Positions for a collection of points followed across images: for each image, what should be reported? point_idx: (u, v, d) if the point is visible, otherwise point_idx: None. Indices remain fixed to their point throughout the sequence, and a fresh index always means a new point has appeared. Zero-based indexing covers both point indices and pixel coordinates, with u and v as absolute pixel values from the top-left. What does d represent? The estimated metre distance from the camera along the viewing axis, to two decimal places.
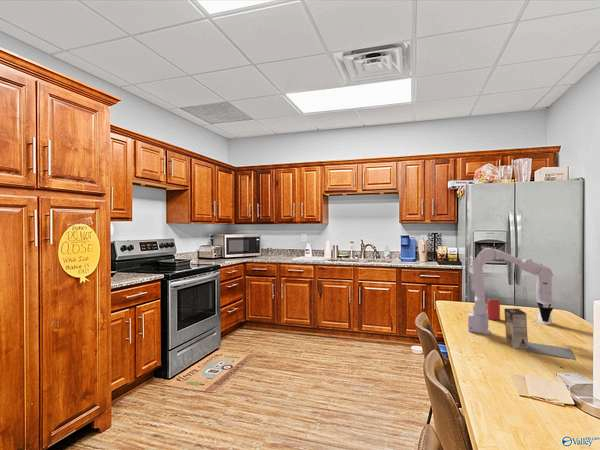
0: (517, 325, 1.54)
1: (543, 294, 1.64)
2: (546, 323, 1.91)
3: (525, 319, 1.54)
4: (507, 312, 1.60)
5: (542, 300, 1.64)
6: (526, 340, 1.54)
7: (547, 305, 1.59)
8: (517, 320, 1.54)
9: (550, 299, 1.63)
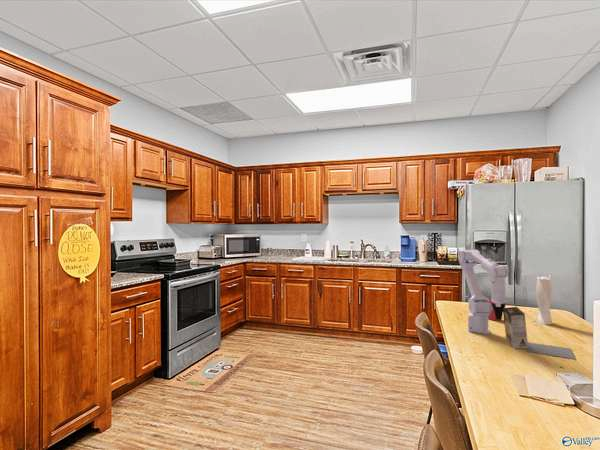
0: (516, 325, 1.54)
1: (496, 293, 1.63)
2: (546, 323, 1.91)
3: (524, 319, 1.53)
4: (505, 312, 1.58)
5: (495, 299, 1.64)
6: (526, 340, 1.54)
7: (499, 304, 1.59)
8: (516, 321, 1.53)
9: (503, 298, 1.63)
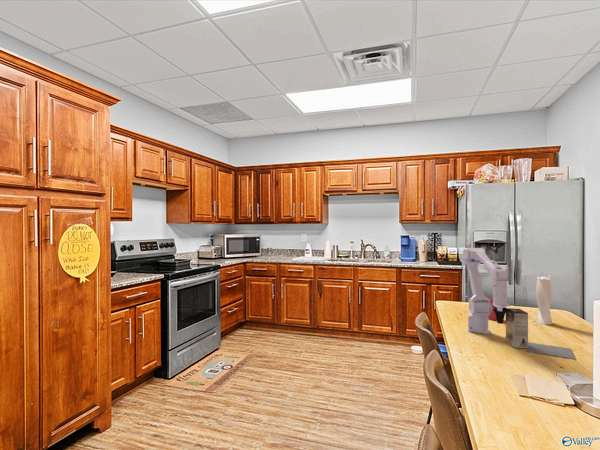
0: (519, 324, 1.55)
1: (498, 297, 1.60)
2: (546, 323, 1.91)
3: (526, 318, 1.55)
4: (508, 311, 1.60)
5: (497, 303, 1.60)
6: (526, 340, 1.54)
7: (501, 308, 1.56)
8: (518, 319, 1.55)
9: (505, 302, 1.59)
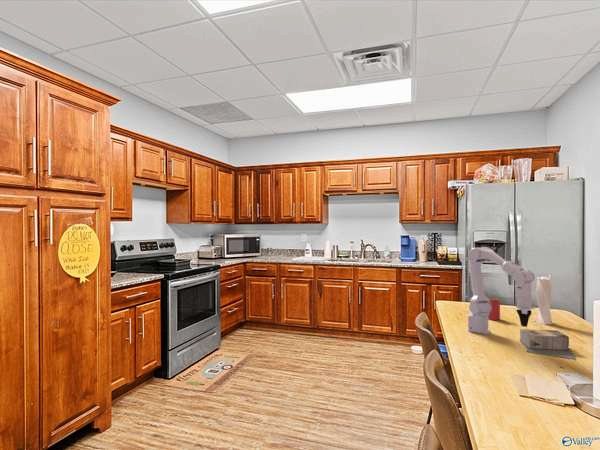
0: (555, 341, 1.52)
1: (522, 299, 1.55)
2: (546, 323, 1.91)
3: (561, 348, 1.52)
4: (560, 333, 1.56)
5: (521, 306, 1.55)
6: (537, 347, 1.53)
7: (526, 311, 1.51)
8: (560, 341, 1.52)
9: (529, 305, 1.55)
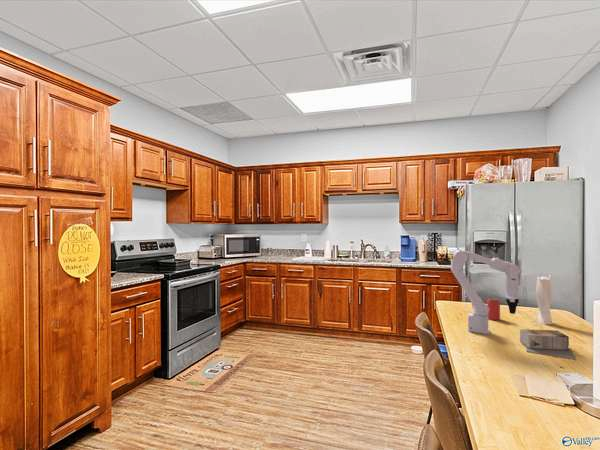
0: (555, 341, 1.52)
1: (510, 289, 1.74)
2: (546, 323, 1.91)
3: (561, 348, 1.52)
4: (560, 333, 1.56)
5: (509, 295, 1.74)
6: (537, 347, 1.53)
7: (513, 299, 1.69)
8: (560, 341, 1.52)
9: (517, 294, 1.73)
